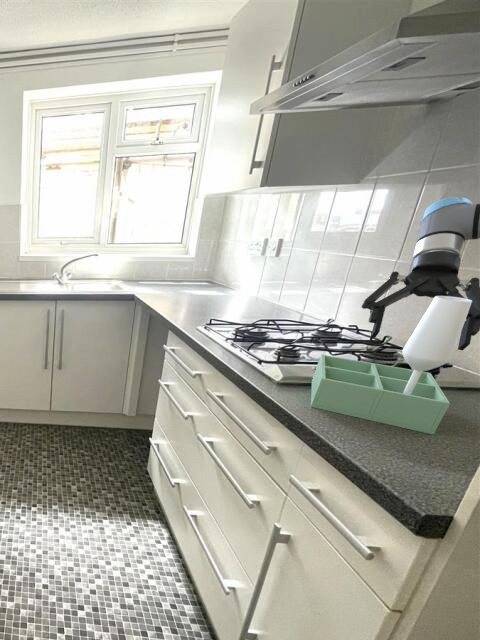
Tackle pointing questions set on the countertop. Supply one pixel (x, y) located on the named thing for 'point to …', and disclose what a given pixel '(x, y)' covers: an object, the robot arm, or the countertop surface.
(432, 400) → the divided storage box
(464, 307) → the champagne flute
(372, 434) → the countertop surface
